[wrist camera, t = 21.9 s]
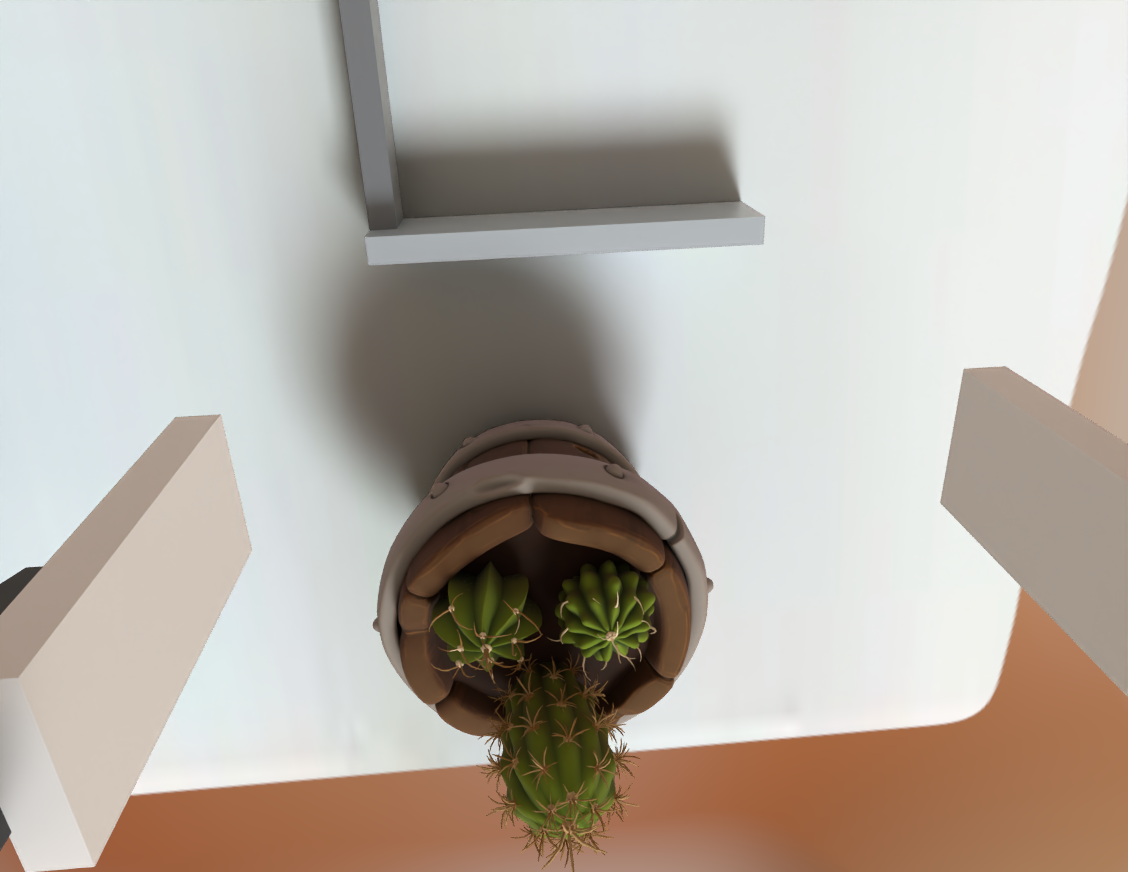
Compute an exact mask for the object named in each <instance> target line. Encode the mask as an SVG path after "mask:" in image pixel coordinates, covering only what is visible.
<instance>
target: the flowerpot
mask: <svg viewBox="0 0 1128 872" xmlns="http://www.w3.org/2000/svg"><path fill="white" fill-rule="evenodd" d="M712 589H713V582H712V580H710V579H709V578H707V577H706V570H705V566H704V562H703V559H702V556H701V553H700V551H699V549H698V547H697V545H696V543H695V541H694V539H693V537H692V535H691V533H690V531H689V529H688V527H687V526H686V524H685V522H684V520H683V519H682V517H681V515H680V514H679V512H678V511H677V509H676V508H675V507H674V505H673V504H672V503H671V502H670V501H669V500H668V499H667V498H666V497H664V496H663V495H662V494H661V493H660V492H659V491H657V490H656V489H655V488H654V487H653V486H651V485H650V484H649V483H648V482H646V481H645V480H644V479H642V478H641V477H640V476H639V475H638V473H637V472H636V470H635V469H634V467H633V466H632V465H631V464H630V463H629V461H628V460H627V459H626V458H625V457H624V456H623V455H622V454H621V453H620V452H619V451H618V450H617V449H616V448H615V447H613V446H612V445H611V444H610V443H609V442H608V441H606V440H605V439H604V438H603V437H601V436H600V435H598V434H596V433H594V432H593V431H592V428H591V427H590V426H589V425H581V426H578V425H575V424H572V423H568V422H564V421H556V420H525V421H519V422H513V423H509V424H505V425H501V426H498V427H495V428H492V429H489V430H487V431H485V432H483V433H481V434H480V435H478V436H477V437H475V438H474V437H467V438H466V439H464V441H463V444H462V447H461V448H460V449H458V450H457V451H456V452H455V453H454V455H453V456H452V457H451V458H450V459H449V461H448V462H447V463H446V465H445V466H444V468H443V469H442V470H441V472H440V473H439V475H438V477H437V478H436V480H435V482H434V483H433V485H432V487H431V489H430V492H429V494H428V495H427V496H426V497H425V498H424V499H423V500H422V501H421V503H420V504H419V505H418V506H417V508H416V509H415V510H414V511H413V513H412V514H411V515H410V517H409V518H408V519H407V521H406V522H405V524H404V525H403V527H402V528H401V530H400V532H399V533H398V535H397V537H396V539H395V541H394V543H393V545H392V547H391V549H390V551H389V554H388V556H387V559H386V562H385V565H384V569H383V573H382V577H381V582H380V587H379V594H378V603H377V616H378V617H377V618H376V619H375V620H374V622H373V628H374V629H375V630H376V631H378V632H380V636H381V640H382V644H383V647H384V650H385V652H386V654H387V656H388V658H389V660H390V662H391V664H392V665H393V667H394V668H395V670H396V672H397V673H398V674H399V676H400V677H401V678H402V680H403V681H404V682H405V683H406V685H407V686H408V687H409V688H410V689H411V690H412V691H413V692H414V693H415V695H416V696H417V697H418V698H419V699H421V700H422V701H423V702H424V703H425V704H427V705H428V706H429V707H430V708H432V709H433V710H434V711H436V712H437V713H438V715H439V716H440V717H441V718H442V719H443V720H444V721H445V722H446V723H448V724H449V725H451V726H452V727H454V728H456V729H458V730H460V731H462V732H464V733H467V734H471V735H476V736H481V737H483V736H492V737H491V738H490V739H489V740H491V739H492V738H494V737H495V738H494V739H493V742H494V740H495V739H497V738H499V739H498V746H499V751H500V745H501V741H502V744H503V753H502V756H499V755H495V756H497V757H498V758H497V761H498V763H497V761H496V762H495V761H494V760H493V758H492V757H491V755H490V752H489V755H490V757H491V758H490V759H489V758H488V759H489V761H490V762H491V763H492V764H493V765H494V766H490V765H488V766H489V767H494V768H485V767H480V766H478V767H480V768H482V769H484V770H486V771H492V772H490V773H483V774H488V775H487V776H489V775H490V774H492V775H493V774H496V773H498V772H499V773H498V774H497V776H499V777H498V781H497V788H498V782H499V783H500V776H501V775H502V777H503V779H504V781H505V783H506V786H507V797H505V798H506V799H505V798H504V796H503V797H502V796H501V795H500V794H499V793H498V792H497V791H496V792H497V793H498V795H499V796H500V797H501V799H502V801H503V800H504V801H503V802H504V803H498V802H496V801H494V800H492V799H491V798H490V799H491V800H492V801H494V802H495V803H497V804H502V805H506V806H503V807H499V808H496V809H493V811H494V812H492V813H490V814H488V815H491V814H493V813H495V812H497V811H500V810H505V811H504V813H503V814H502V820H501V827H502V822H503V817H504V825H505V814H507V812H509V813H508V816H507V819H506V824H507V820H508V817H509V816H510V813H511V812H512V819H511V821H512V823H513V825H514V822H513V814H514V815H515V816H516V818H517V817H518V818H519V819H521V820H522V821H524V822H525V823H527V824H528V825H529V828H530V831H529V830H527V829H526V828H525V827H524V828H525V829H526V830H527V831H529V832H527V833H528V834H527V835H525V836H524V837H526V836H528V835H530V834H531V836H530V837H529V838H527V839H529V841H528V843H527V845H526V846H525V848H524V849H523V851H524V850H525V849H527V848H529V847H530V846H531V845H532V844H534V843H535V846H536V848H537V851H538V852H539V856H540V855H541V853H540V852H541V850H542V855H543V848H544V842H545V839H546V838H548V840H549V842H550V843H551V844H552V845H553V846H552V847H554V848H553V849H555V848H556V850H555V851H554V852H553V853H552V854H550V855H549V856H551V855H553V856H552V857H551V859H550V860H549V861H548V862H547V864H546V865H545V866H544V867H543V868H542V869H544V868H545V867H546V866H547V865H548V864H550V863H551V862H552V860H553V859H554V858H555V856H556V855H557V853H558V852H559V851H560V852H561V851H562V856H561V859H562V857H563V854H564V849H565V842H566V845H567V849H568V852H567V860H566V864H567V861H568V855H569V849H570V858H571V866H572V872H574V863H573V862H574V861H573V854H572V847H573V848H574V850H575V849H576V850H577V851H578V852H583V851H580V850H581V846H582V845H584V846H588V847H589V848H591V849H593V850H594V852H595V853H596V851H599V852H601V853H603V852H604V853H607V852H605V851H602V850H600V849H599V848H598V847H597V845H598V844H597V843H596V842H595V841H593V839H592V836H595V837H600V838H601V837H603V838H612V837H606V836H602V835H598V834H597V833H604V832H606V831H608V830H605V831H604V827H606V826H605V824H604V823H603V821H602V818H601V816H602V815H603V814H605V812H608V813H609V821H610V812H612V811H613V813H614V811H615V812H616V813H617V811H616V810H618V811H619V812H620V810H619V809H618V808H617V807H616V806H615V803H617V804H619V806H620V808H621V811H623V810H622V808H623V809H624V811H625V812H626V810H625V808H624V807H623V806H622V805H621V804H620V803H619V802H621V803H624V804H627V805H631V806H637V805H634V804H629V803H625V802H623V801H621V800H620V799H627V798H629V797H630V796H628V797H627V795H626V796H624V797H622V796H623V795H624V794H625V793H626V792H627V791H628V790H629V789H630V787H631V785H630V787H629V788H628V790H627V791H626V792H625V793H624V794H622V795H619V793H620V791H621V788H620V787H619V792H618V794H616V792H615V783H614V778H615V775H617V774H618V773H617V772H616V767H617V766H619V767H620V768H621V769H622V770H623V772H624V773H625V771H624V769H623V768H625V769H626V770H627V771H628V772H629V773H630V774H631V776H633V774H632V773H631V772H630V770H629V769H628V768H627V767H626V766H625V765H624V764H623V763H625V762H626V763H630V764H634V763H632V762H630V761H627V760H623V758H624V757H635V756H626V754H627V753H628V751H629V749H628V751H627V752H626V753H625V755H624V756H623V757H621V756H622V754H623V753H624V751H625V749H626V746H625V748H624V746H623V750H622V753H621V754H620V755H619V753H620V752H621V747H622V740H621V746H620V751H619V753H618V749H617V750H616V754H615V753H613V752H614V751H612V750H611V748H610V746H609V745H608V733H609V735H610V737H611V739H612V736H613V735H614V733H613V731H614V730H613V728H616V729H617V730H618V731H620V730H622V729H621V728H619V727H618V726H621V725H626V724H622V723H624V722H626V721H628V720H630V719H631V718H633V717H635V716H636V715H638V714H640V713H642V712H644V711H646V710H648V709H649V708H651V707H652V706H653V705H655V704H656V703H657V702H658V701H659V700H661V699H662V698H663V697H664V696H665V695H666V694H667V693H668V692H669V691H670V689H671V688H672V686H673V684H674V682H675V681H676V680H677V679H678V677H679V676H680V675H681V673H682V672H683V670H684V669H685V668H686V666H687V665H688V663H689V661H690V659H691V658H692V656H693V654H694V652H695V650H696V647H697V645H698V643H699V640H700V638H701V635H702V632H703V629H704V625H705V621H706V616H707V605H708V593H709V592H710V591H711V590H712ZM619 724H621V725H619ZM618 728H619V729H620V730H619V729H618ZM612 730H613V731H612ZM610 731H612V733H613V734H612V733H611V732H610ZM622 731H623V730H622ZM615 732H616V731H615ZM620 732H621V731H620ZM623 732H624V731H623ZM624 733H625V732H624ZM621 734H622V732H621ZM611 735H612V736H611ZM622 735H623V734H622ZM481 737H480V738H481ZM480 738H479V739H480ZM613 738H614V739H615V736H613ZM500 739H501V741H500ZM489 740H487V742H488V741H489ZM615 741H616V739H615ZM487 742H486V743H487ZM493 742H492V744H493ZM499 742H500V745H499ZM486 743H485V744H486ZM616 743H617V742H616ZM492 744H491V746H492ZM626 745H627V743H626ZM491 746H490V750H491ZM615 748H616V747H615ZM488 751H489V749H488ZM499 753H500V752H499ZM614 754H615V755H614ZM492 755H494V754H492ZM616 755H617V756H616ZM618 755H619V756H618ZM487 757H488V756H487ZM499 758H501V760H499ZM635 758H637V757H635ZM491 759H492V760H491ZM495 760H496V759H495ZM499 761H500V762H499ZM621 764H622V765H624V766H625V767H624V766H622V765H621ZM634 765H636V764H634ZM636 766H637V765H636ZM638 767H639V766H638ZM487 769H488V770H487ZM617 769H618V772H619V768H618V767H617ZM500 772H501V773H500ZM616 773H617V774H616ZM499 774H500V775H499ZM492 775H491V776H490V778H491V777H492ZM619 776H620V773H619ZM625 776H626V774H625ZM633 777H634V776H633ZM490 778H489V780H490ZM495 778H496V777H495ZM489 780H488V782H489ZM618 795H619V796H618ZM613 803H614V804H613ZM611 805H613V806H615V807H616V808H617V809H615V807H614V808H613V807H612V806H611ZM638 806H639V805H638ZM610 807H611V808H612V809H613V810H610V809H609V808H610ZM504 808H506V809H504ZM507 810H508V811H507ZM620 813H621V812H620ZM617 814H618V813H617ZM626 814H627V812H626ZM607 815H608V814H607ZM621 815H622V813H621ZM618 816H619V817H620V815H619V814H618ZM627 816H628V815H627ZM622 817H623V816H622ZM510 818H511V817H510ZM598 819H600V821H601V823H602V825H601V826H602V827H603V831H602V832H596V831H594V830H596V829H597V828H599V827H601V826H598V825H596V826H597V827H596V826H593V825H594V824H595V823H596V822H597V821H598ZM620 819H621V820H622V818H621V817H620ZM609 821H608V822H609ZM608 824H609V823H608ZM505 827H506V826H505ZM527 827H528V826H527ZM606 829H607V828H606ZM522 831H524V830H522ZM524 832H526V831H524ZM590 832H591V833H592V834H594V835H592V834H591V833H590ZM587 833H588V834H587ZM596 835H597V836H596ZM533 836H534V842H532V843H531V844H530V845H529V846H528V844H529V842H530V840H531V839H532V837H533ZM536 836H537V837H536ZM579 836H580V837H579ZM581 836H582V838H581ZM586 836H587V837H586ZM524 837H515V838H524ZM539 837H542V838H541V839H540V838H539ZM571 837H574V838H571ZM584 837H585V838H584ZM513 838H514V837H513ZM538 838H539V839H540V840H541V843H540V846H539V845H538V844H537V841H538ZM544 838H545V839H544ZM550 838H553V839H554V838H559V839H556V840H553V839H550ZM587 838H589V839H590V840H591V842H592V843H593V846H594V847H593V846H592V845H591V844H590V842H589V841H588V839H587ZM571 839H574V840H575V839H576V840H577V842H573V841H574V840H571ZM585 839H586V840H587V842H588V843H586V842H584V841H585ZM548 840H547V841H548ZM552 840H553V841H552ZM558 840H560V841H559V842H558V843H557V844H556V845H555V844H553V843H552V842H554V841H558ZM551 841H552V842H551ZM538 842H539V841H538ZM567 842H568V843H569V847H568V843H567ZM571 842H572V843H574V844H575V845H576V844H579V846H577V847H574V846H575V845H574V846H573V845H572V844H571ZM578 842H579V843H578ZM554 843H555V842H554ZM536 844H537V845H538V847H539V848H540V849H539V850H538V847H537V845H536ZM562 844H563V847H562ZM596 844H597V845H596ZM558 845H559V847H557V846H558ZM541 846H542V849H541ZM561 847H562V850H560V849H561ZM579 847H580V849H577V848H579ZM595 847H596V848H595ZM553 849H551V851H552V850H553ZM523 851H522V853H523ZM522 853H521V854H522ZM583 853H584V852H583ZM604 853H603V854H604ZM577 854H578V853H577ZM596 854H597V853H596ZM542 855H541V856H542ZM604 855H605V854H604ZM549 856H547V857H549ZM547 857H546V858H547ZM538 858H539V857H538ZM538 861H539V859H538ZM565 866H566V865H565Z"/></svg>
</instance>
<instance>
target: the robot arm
mask: <svg viewBox="0 0 1128 872" xmlns="http://www.w3.org/2000/svg"><path fill="white" fill-rule="evenodd" d="M940 503H941V504H942V505H943V506H944V507H945V508H946V509H947V510H948V511H949V512H950V513H951V514H952V516H953V517H954V518H955V519H956V520H957V521H958V522H959V523H960V524H961V525H962V526H963V527H964V528H965V529H966V530H967V531H968V532H969V533H970V534H971V535H972V536H973V537H974V538H975V539H976V540H977V541H978V542H979V543H980V544H981V546H982V547H983V548H984V549H985V550H986V551H987V552H988V553H989V554H990V555H991V556H992V557H993V558H994V559H995V560H996V561H997V562H998V563H999V564H1000V565H1001V566H1002V567H1003V568H1004V569H1005V570H1006V571H1007V572H1008V573H1009V574H1010V576H1011V577H1012V578H1013V579H1014V580H1015V581H1016V582H1017V583H1018V584H1019V585H1020V586H1021V587H1022V588H1023V589H1024V590H1025V591H1026V592H1027V593H1028V594H1029V595H1030V596H1031V597H1032V598H1033V599H1034V600H1035V601H1036V602H1037V603H1038V604H1039V605H1040V607H1041V608H1042V609H1043V610H1045V612H1046V613H1047V614H1048V615H1049V616H1050V617H1051V618H1052V619H1053V620H1054V621H1055V622H1056V623H1057V624H1058V625H1059V626H1060V627H1061V628H1062V629H1063V630H1064V631H1065V632H1066V633H1067V635H1069V637H1070V638H1071V639H1072V640H1073V641H1074V642H1075V643H1076V644H1077V645H1078V646H1079V647H1080V648H1081V649H1082V650H1083V651H1084V652H1085V653H1086V654H1087V655H1088V656H1089V657H1090V658H1091V659H1092V660H1093V661H1094V662H1095V663H1096V665H1097V666H1098V667H1099V668H1100V669H1102V671H1103V672H1104V673H1105V674H1106V675H1107V676H1108V677H1109V678H1110V679H1111V680H1112V681H1113V682H1114V683H1115V684H1116V685H1117V686H1118V687H1119V688H1120V689H1121V690H1122V691H1123V692H1124V693H1125V695H1126V696H1127V697H1128V444H1127V443H1126V442H1124V441H1123V440H1121V439H1120V438H1118V437H1117V436H1115V435H1113V434H1112V433H1110V432H1109V431H1107V430H1105V429H1104V428H1102V427H1101V426H1099V425H1097V424H1096V423H1094V422H1093V421H1091V420H1090V419H1088V418H1086V417H1085V416H1083V415H1082V414H1080V413H1078V412H1077V411H1075V410H1074V409H1072V408H1071V407H1069V406H1067V405H1066V404H1064V403H1063V402H1061V401H1059V400H1058V399H1056V398H1055V397H1053V396H1051V395H1050V394H1048V393H1047V392H1045V391H1044V390H1042V389H1040V388H1039V387H1037V386H1036V385H1034V384H1032V383H1031V382H1029V381H1028V380H1026V379H1024V378H1023V377H1021V376H1020V375H1018V374H1017V373H1015V372H1013V371H1012V370H1010V369H1009V368H1007V367H1005V366H1004V367H988V368H971V369H964V370H963V376H962V382H961V388H960V393H959V399H958V405H957V410H956V416H955V422H954V427H953V433H952V439H951V445H950V450H949V456H948V462H947V467H946V473H945V479H944V484H943V490H942V496H941V502H940ZM251 551H252V547H251V543H250V539H249V534H248V530H247V526H246V521H245V517H244V513H243V509H242V504H241V500H240V496H239V491H238V487H237V483H236V478H235V474H234V470H233V466H232V461H231V457H230V453H229V448H228V444H227V440H226V435H225V431H224V427H223V422H222V418H221V415H205V416H189V417H175V418H174V419H173V421H172V422H171V423H170V424H169V425H168V426H167V427H166V428H165V430H164V431H163V432H162V433H161V434H160V435H159V436H158V438H157V439H156V440H155V441H154V442H153V443H152V444H151V445H150V447H149V448H148V449H147V450H146V451H145V452H144V453H143V454H142V456H141V457H140V458H139V459H138V460H137V461H136V462H135V463H134V465H133V466H132V467H131V468H130V469H129V470H128V471H127V473H126V474H125V475H124V476H123V477H122V478H121V479H120V480H119V482H118V483H117V484H116V485H115V486H114V487H113V488H112V489H111V491H110V492H109V493H108V494H107V495H106V496H105V497H104V498H103V500H102V501H101V502H100V503H99V504H98V505H97V506H96V508H95V509H94V510H93V511H92V512H91V513H90V514H89V515H88V517H87V518H86V519H85V520H84V521H83V522H82V523H81V524H80V526H79V527H78V528H77V529H76V530H75V531H74V532H73V533H72V535H71V536H70V537H69V538H68V539H67V540H66V541H65V543H64V544H63V545H62V546H61V547H60V548H59V549H58V550H57V552H56V553H55V554H54V555H53V556H52V557H51V558H50V559H49V561H48V562H47V563H46V564H45V565H44V566H43V567H28V568H25V569H23V570H21V571H20V572H18V573H17V574H15V575H14V576H12V577H10V578H9V579H7V580H6V581H4V582H3V583H1V584H0V850H1V848H2V847H3V845H4V844H5V842H6V841H7V839H8V837H10V839H11V841H12V843H13V845H14V848H15V850H16V852H17V854H18V856H19V859H20V861H21V863H22V865H23V867H24V869H25V871H26V872H36V871H49V870H60V869H73V868H84V867H94V866H95V865H96V863H97V861H98V859H99V857H100V855H101V853H102V851H103V849H104V847H105V845H106V843H107V841H108V839H109V837H110V835H111V833H112V831H113V829H114V827H115V825H116V823H117V821H118V819H119V817H120V815H121V813H122V811H123V809H124V807H125V805H126V802H127V801H128V799H129V797H130V795H131V793H132V791H133V789H134V787H135V785H136V783H137V781H138V778H139V776H140V774H141V772H142V770H143V768H144V766H145V764H146V762H147V760H148V758H149V756H150V754H151V752H152V750H153V748H154V746H155V744H156V742H157V740H158V738H159V736H160V734H161V732H162V730H163V728H164V726H165V724H166V722H167V720H168V718H169V716H170V714H171V712H172V710H173V708H174V706H175V704H176V702H177V700H178V698H179V696H180V694H181V692H182V690H183V688H184V686H185V684H186V682H187V680H188V678H189V676H190V674H191V672H192V670H193V668H194V666H195V664H196V662H197V660H198V658H199V656H200V654H201V652H202V650H203V648H204V646H205V644H206V642H207V640H208V638H209V636H210V634H211V632H212V630H213V628H214V626H215V624H216V622H217V620H218V618H219V616H220V614H221V612H222V610H223V608H224V606H225V604H226V602H227V600H228V598H229V596H230V594H231V592H232V590H233V588H234V586H235V584H236V582H237V580H238V578H239V576H240V574H241V572H242V570H243V568H244V566H245V564H246V562H247V559H248V557H249V555H250V553H251Z"/></svg>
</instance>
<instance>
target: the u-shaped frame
mask: <svg viewBox="0 0 1128 872" xmlns="http://www.w3.org/2000/svg"><path fill="white" fill-rule="evenodd" d="M338 1H339V8H340V16H341V23H342V31H343V38H344V45H345V53H346V60H347V67H348V75H349V82H350V89H351V97H352V104H353V111H354V119H355V126H356V134H357V141H358V148H359V156H360V163H361V170H362V178H363V185H364V192H365V200H366V207H367V214H368V222H369V229H370V231H369V232H368V233H367V235H366V236H365V244H366V251H367V258H368V266H369V265H388V264H406V263H425V262H444V261H462V260H481V259H499V258H518V257H537V256H555V255H574V254H592V253H611V252H630V251H648V250H667V249H685V248H704V247H722V246H741V245H760V244H763V243H764V227H765V216H764V215H762V214H760V213H759V212H757V211H756V210H754V209H753V208H751V207H749V206H748V205H746V204H745V203H743V202H742V201H735V202H716V203H696V204H677V205H657V206H638V207H618V208H599V209H580V210H560V211H541V212H521V213H502V214H482V215H463V216H443V217H424V218H404V219H403V213H402V204H401V196H400V187H399V179H398V170H397V162H396V153H395V145H394V137H393V128H392V120H391V111H390V103H389V94H388V86H387V77H386V69H385V61H384V52H383V44H382V35H381V27H380V18H379V10H378V1H377V0H338Z"/></svg>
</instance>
